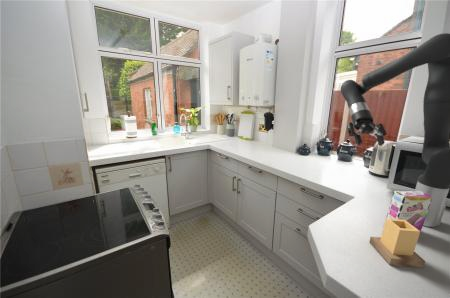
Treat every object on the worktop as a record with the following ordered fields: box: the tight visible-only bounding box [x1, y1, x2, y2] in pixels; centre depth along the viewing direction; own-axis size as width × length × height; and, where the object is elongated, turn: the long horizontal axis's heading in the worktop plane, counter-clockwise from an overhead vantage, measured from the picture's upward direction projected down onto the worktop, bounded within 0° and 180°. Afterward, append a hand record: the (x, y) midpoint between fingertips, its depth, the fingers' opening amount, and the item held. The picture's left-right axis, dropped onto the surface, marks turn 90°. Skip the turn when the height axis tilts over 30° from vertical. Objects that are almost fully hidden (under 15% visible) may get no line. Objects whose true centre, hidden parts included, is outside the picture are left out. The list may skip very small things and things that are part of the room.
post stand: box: [368, 236, 426, 269], centre depth 65 cm, size 10×10×10 cm
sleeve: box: [380, 218, 421, 256], centre depth 64 cm, size 6×6×9 cm
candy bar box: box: [385, 190, 433, 233], centre depth 77 cm, size 11×5×16 cm, turn 92°
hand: (371, 144), depth 82 cm, fingers open, 8 cm apart
